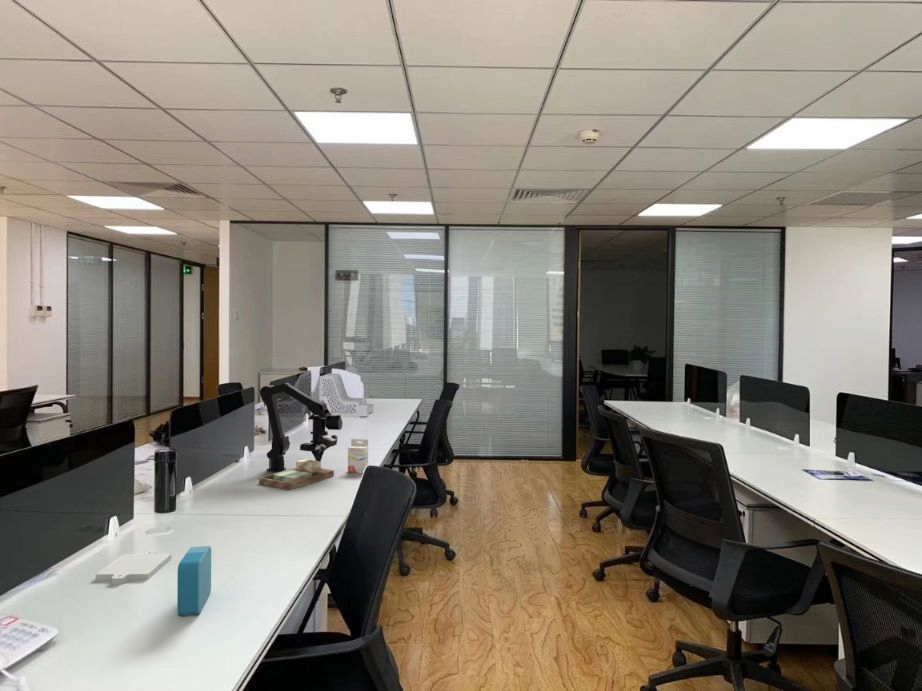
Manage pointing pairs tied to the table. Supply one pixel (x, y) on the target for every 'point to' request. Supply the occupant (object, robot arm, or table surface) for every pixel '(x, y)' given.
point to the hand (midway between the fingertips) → (318, 463)
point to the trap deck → (295, 478)
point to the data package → (194, 580)
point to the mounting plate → (134, 567)
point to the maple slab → (308, 465)
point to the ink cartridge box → (357, 456)
